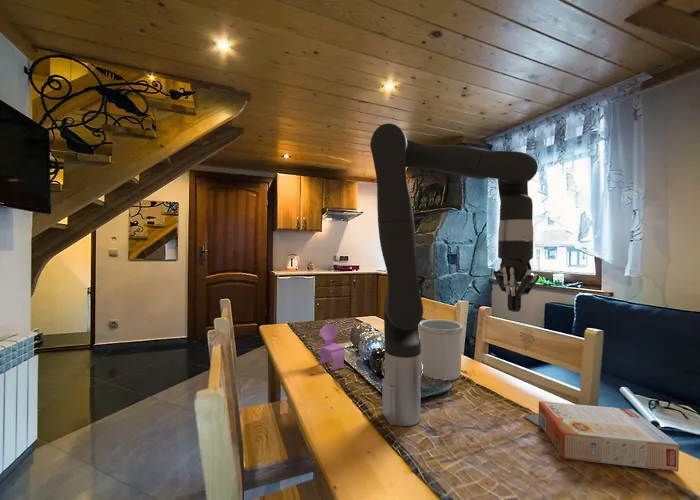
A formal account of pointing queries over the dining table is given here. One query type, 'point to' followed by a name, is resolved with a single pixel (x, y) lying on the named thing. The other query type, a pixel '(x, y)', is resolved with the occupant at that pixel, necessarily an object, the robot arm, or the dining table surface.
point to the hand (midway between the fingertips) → (514, 311)
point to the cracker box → (607, 436)
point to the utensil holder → (441, 348)
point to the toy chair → (331, 348)
